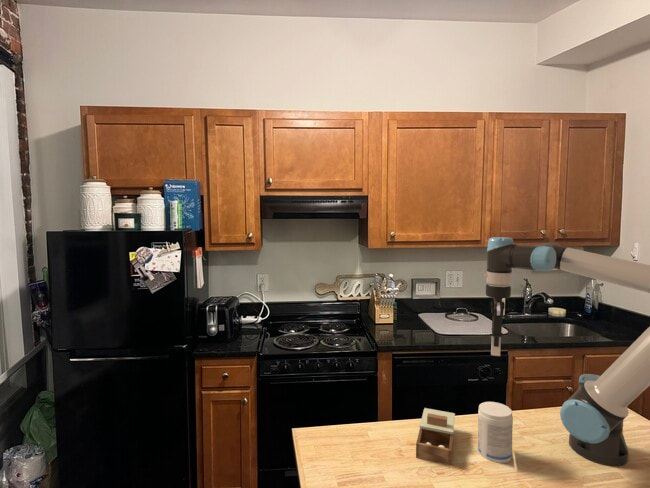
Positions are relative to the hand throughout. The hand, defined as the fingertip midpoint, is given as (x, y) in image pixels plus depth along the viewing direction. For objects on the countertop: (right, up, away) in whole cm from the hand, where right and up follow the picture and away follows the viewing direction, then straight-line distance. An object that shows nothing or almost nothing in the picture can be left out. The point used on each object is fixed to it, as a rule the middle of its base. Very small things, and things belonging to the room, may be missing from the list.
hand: (495, 354), depth 130 cm
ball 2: (-21, -27, -12) cm, 36 cm away
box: (-23, -27, -9) cm, 37 cm away
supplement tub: (-5, -28, -11) cm, 30 cm away
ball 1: (-25, -27, -10) cm, 38 cm away
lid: (-20, -21, -2) cm, 29 cm away
